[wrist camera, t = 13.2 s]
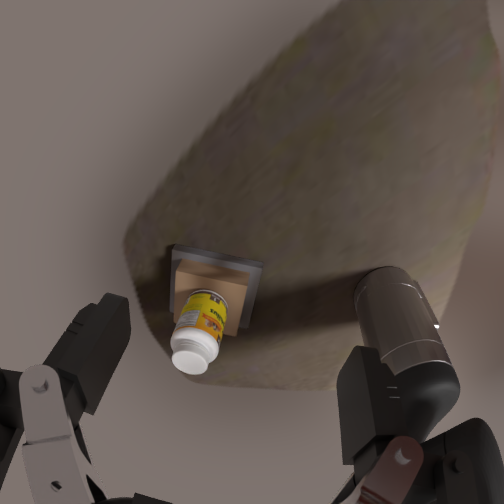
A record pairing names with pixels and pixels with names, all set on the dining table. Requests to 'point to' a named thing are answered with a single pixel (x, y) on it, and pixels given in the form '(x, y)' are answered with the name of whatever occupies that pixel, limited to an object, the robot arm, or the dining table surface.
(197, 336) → the supplement bottle
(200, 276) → the pedestal
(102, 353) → the robot arm
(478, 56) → the dining table surface
